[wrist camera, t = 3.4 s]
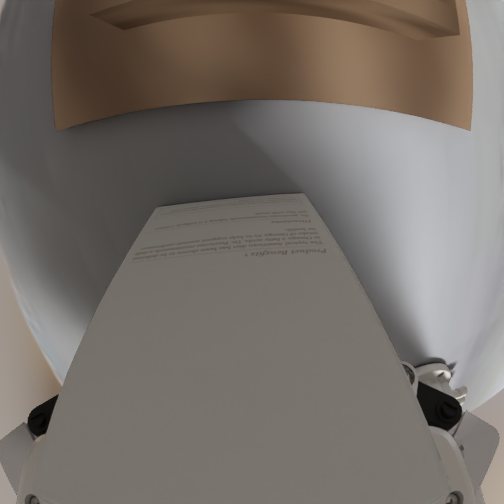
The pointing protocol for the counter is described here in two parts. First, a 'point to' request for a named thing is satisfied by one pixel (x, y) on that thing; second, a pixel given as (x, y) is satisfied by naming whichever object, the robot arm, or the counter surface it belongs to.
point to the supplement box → (237, 374)
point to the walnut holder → (261, 55)
